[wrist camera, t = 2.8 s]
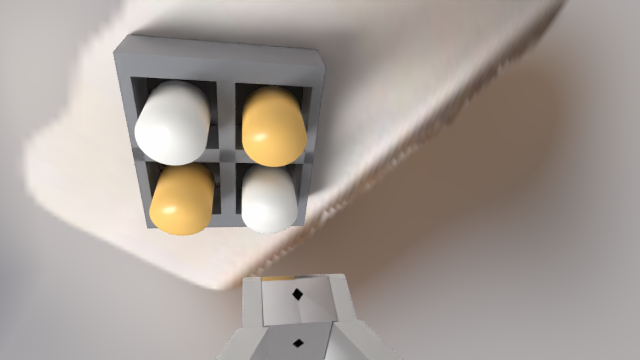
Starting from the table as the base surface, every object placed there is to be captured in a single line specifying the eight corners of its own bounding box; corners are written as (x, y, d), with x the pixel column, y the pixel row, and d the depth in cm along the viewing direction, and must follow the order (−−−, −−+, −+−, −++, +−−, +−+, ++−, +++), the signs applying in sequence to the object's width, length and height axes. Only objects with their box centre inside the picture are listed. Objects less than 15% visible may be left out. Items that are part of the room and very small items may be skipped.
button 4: (242, 84, 18) (242, 109, 16) (302, 87, 18) (310, 112, 16) (242, 136, 20) (242, 166, 17) (297, 138, 20) (303, 167, 18)
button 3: (143, 78, 17) (129, 104, 15) (210, 82, 18) (205, 107, 15) (152, 134, 19) (140, 164, 17) (212, 136, 19) (208, 165, 17)
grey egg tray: (127, 34, 17) (112, 52, 15) (317, 49, 19) (325, 67, 17) (155, 200, 23) (147, 228, 21) (299, 199, 25) (303, 225, 23)
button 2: (242, 161, 20) (242, 191, 18) (295, 161, 21) (300, 191, 19) (241, 201, 22) (241, 234, 20) (290, 201, 23) (295, 233, 21)
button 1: (156, 159, 20) (145, 191, 17) (213, 160, 20) (209, 191, 18) (162, 202, 21) (153, 236, 19) (215, 201, 22) (212, 234, 20)
